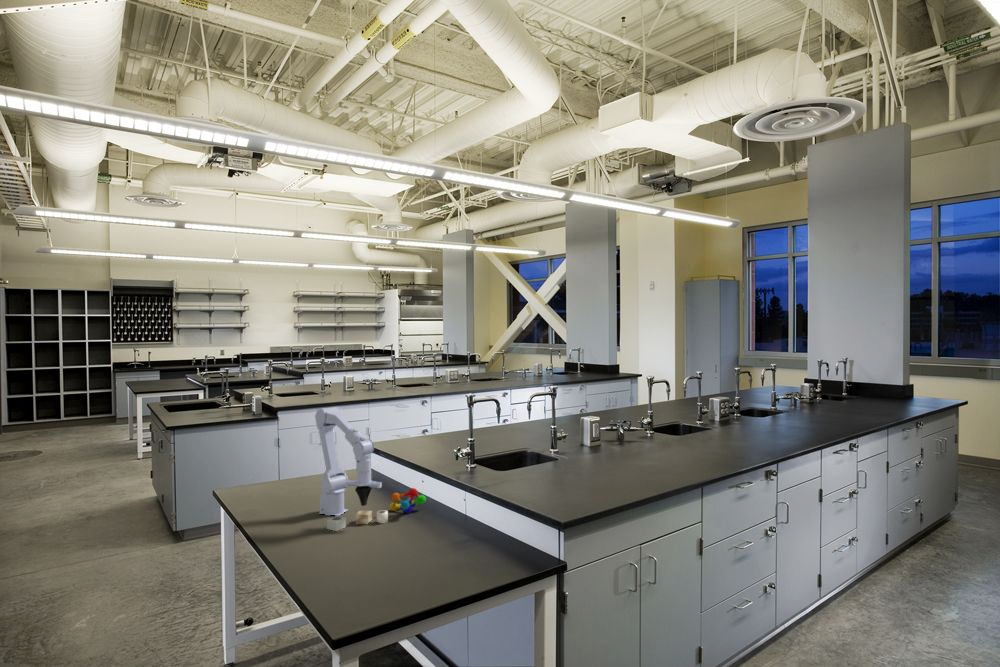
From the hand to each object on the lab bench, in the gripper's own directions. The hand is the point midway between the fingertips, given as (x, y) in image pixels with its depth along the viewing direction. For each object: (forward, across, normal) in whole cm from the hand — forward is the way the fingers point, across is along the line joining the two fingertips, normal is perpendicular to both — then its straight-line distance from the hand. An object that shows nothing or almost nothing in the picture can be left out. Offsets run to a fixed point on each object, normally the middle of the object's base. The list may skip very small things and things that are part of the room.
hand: (363, 505), depth 220 cm
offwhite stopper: (+7, +7, +2) cm, 10 cm away
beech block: (+7, 0, 0) cm, 7 cm away
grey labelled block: (+7, -7, -9) cm, 13 cm away
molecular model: (+7, +12, +16) cm, 21 cm away
